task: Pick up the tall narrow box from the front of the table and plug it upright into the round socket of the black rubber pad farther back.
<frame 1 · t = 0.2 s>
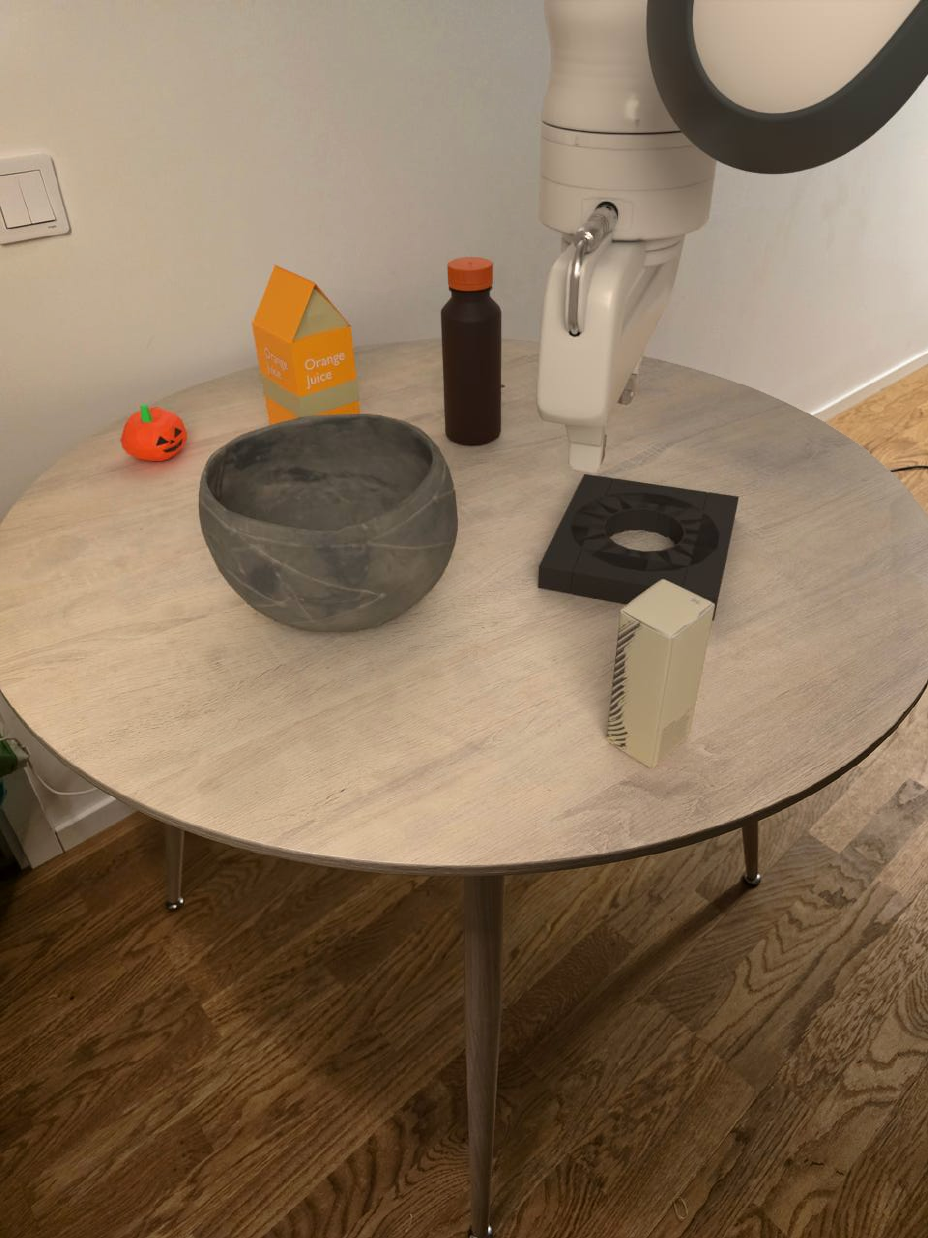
hand: (604, 430, 53), 24 cm above the table, tool pointing down, fingers open, 8 cm apart
pad: (641, 550, 85), on the table
bowl: (344, 607, 79), on the table
pumpkin: (159, 456, 103), on the table
bottle: (473, 435, 105), on the table
orange juice: (318, 445, 104), on the table
box: (646, 741, 65), on the table
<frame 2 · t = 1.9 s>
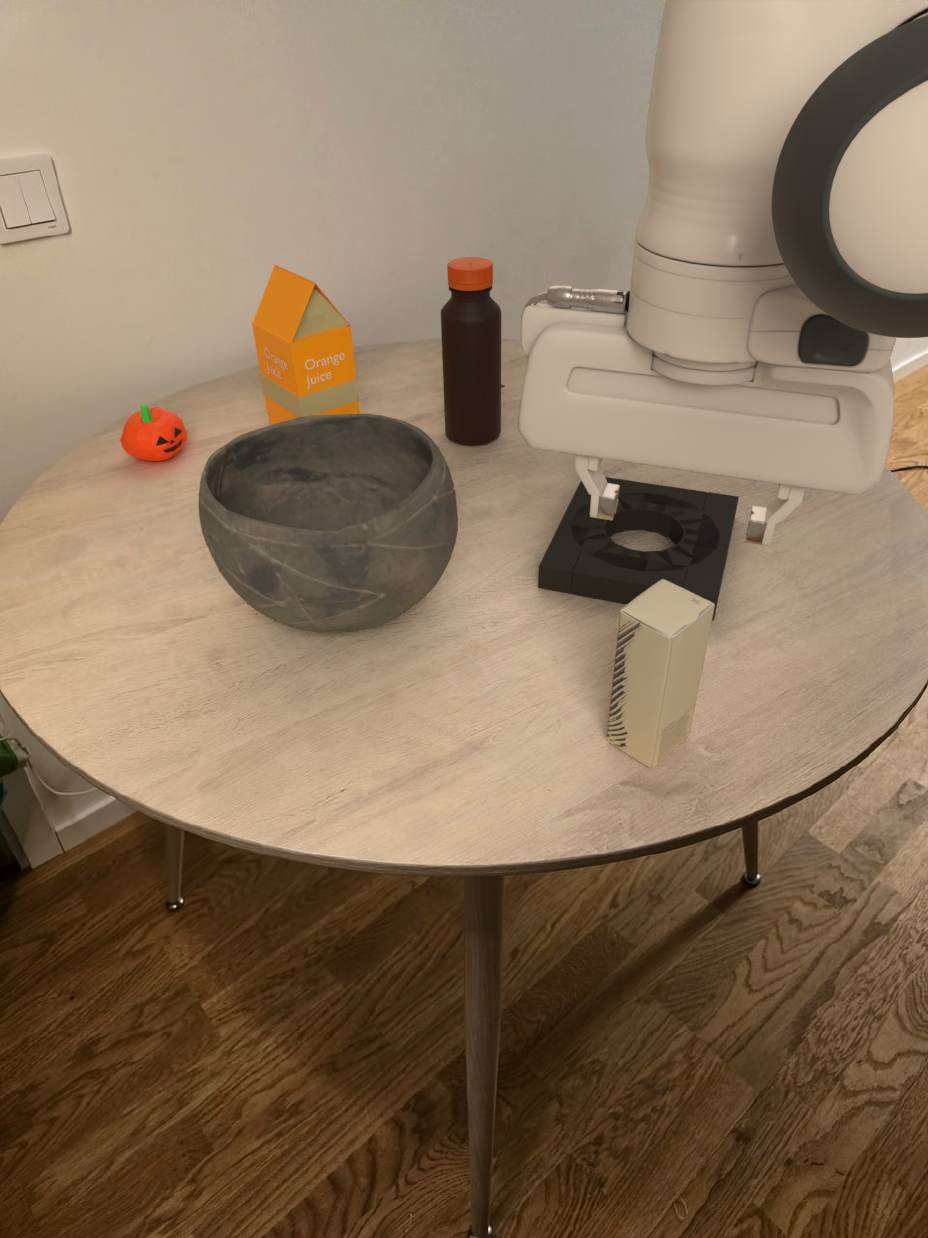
hand: (678, 526, 53), 19 cm above the table, tool pointing down, fingers open, 8 cm apart
nothing on the table moved.
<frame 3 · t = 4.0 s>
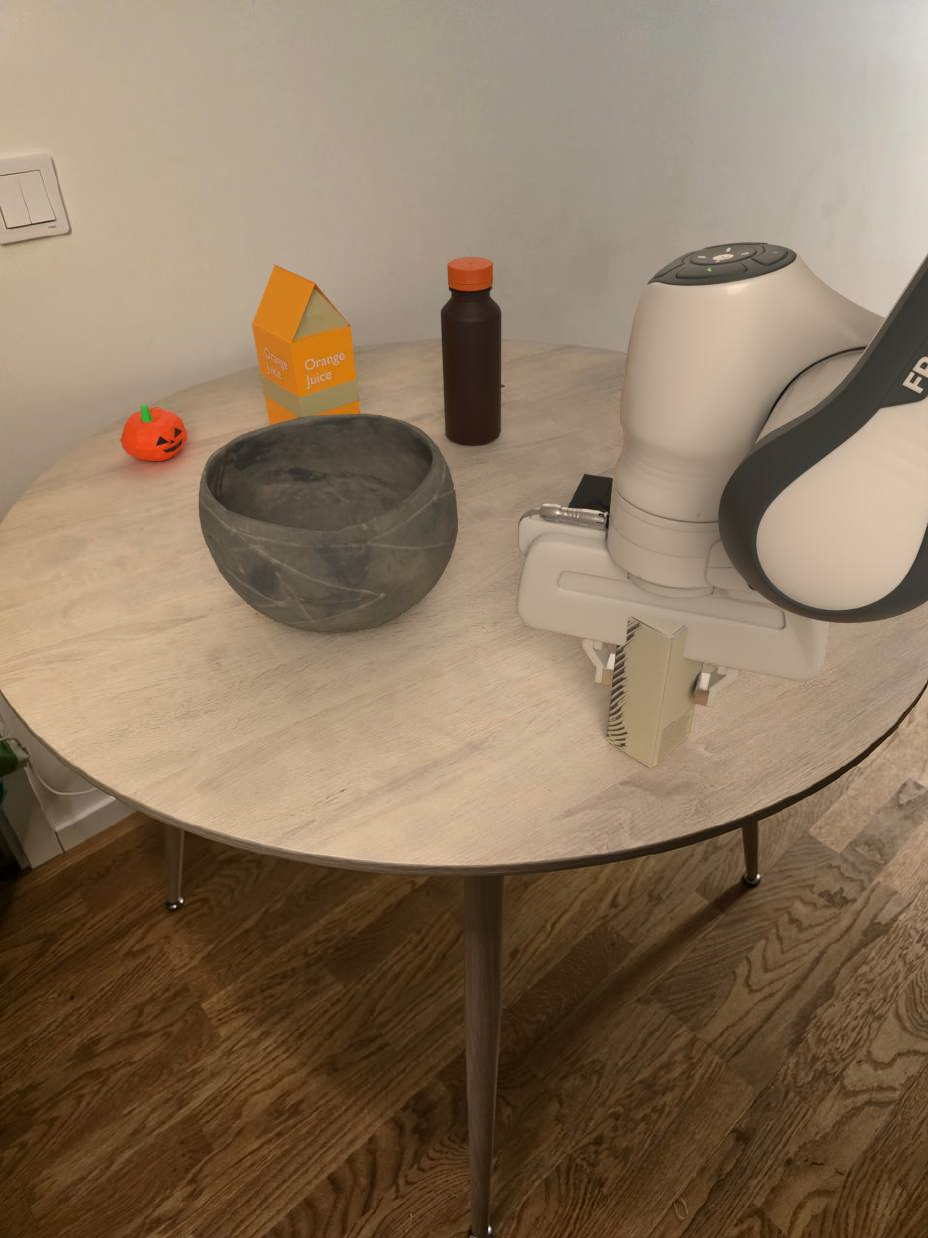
hand: (655, 689, 62), 5 cm above the table, tool pointing down, fingers closed on box, 5 cm apart
box: (646, 741, 65), on the table, touching gripper
everything else where it was.
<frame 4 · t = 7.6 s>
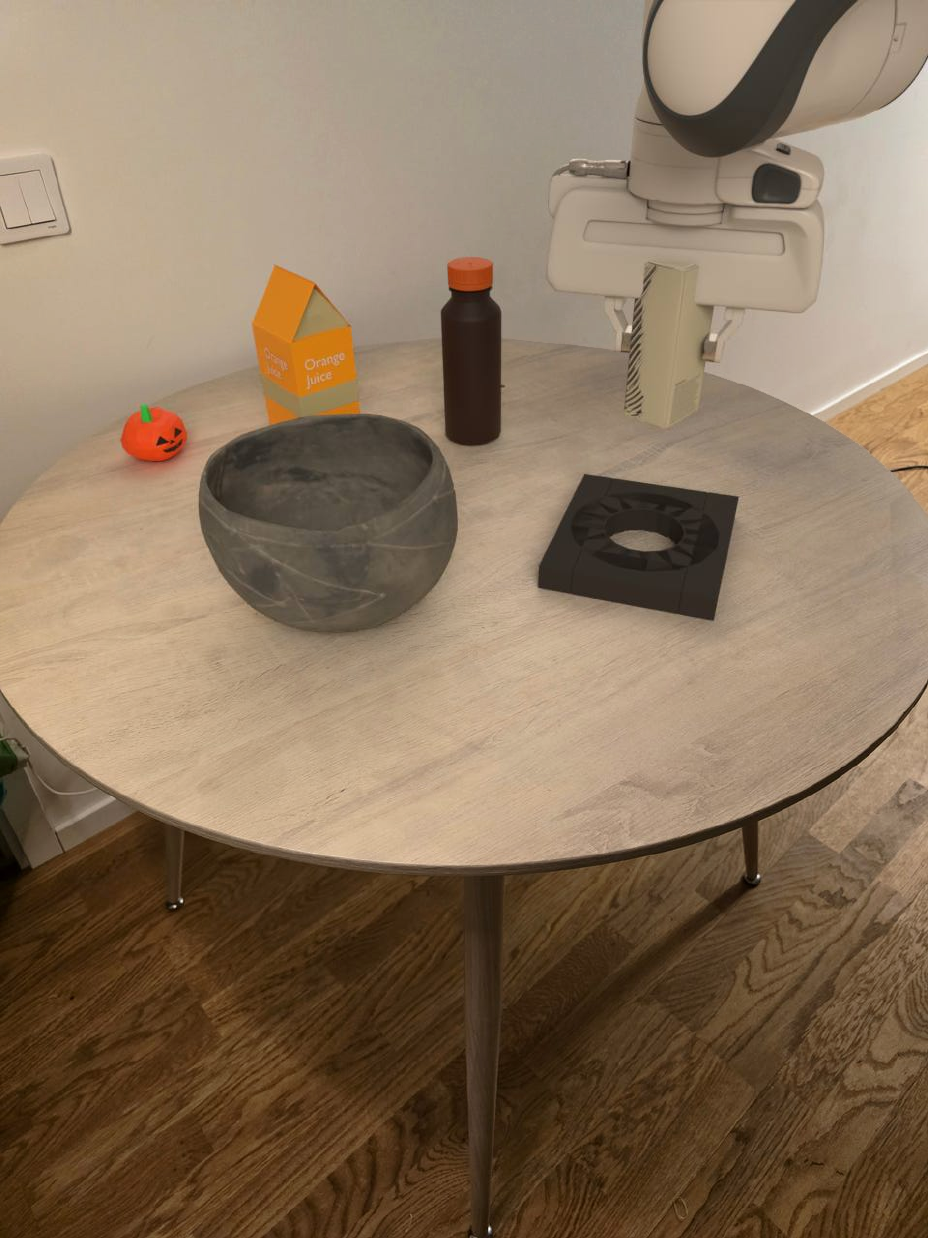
hand: (668, 354, 69), 21 cm above the table, tool pointing down, fingers closed on box, 5 cm apart
box: (659, 416, 73), point 16 cm above the table, touching gripper
everything else where it was.
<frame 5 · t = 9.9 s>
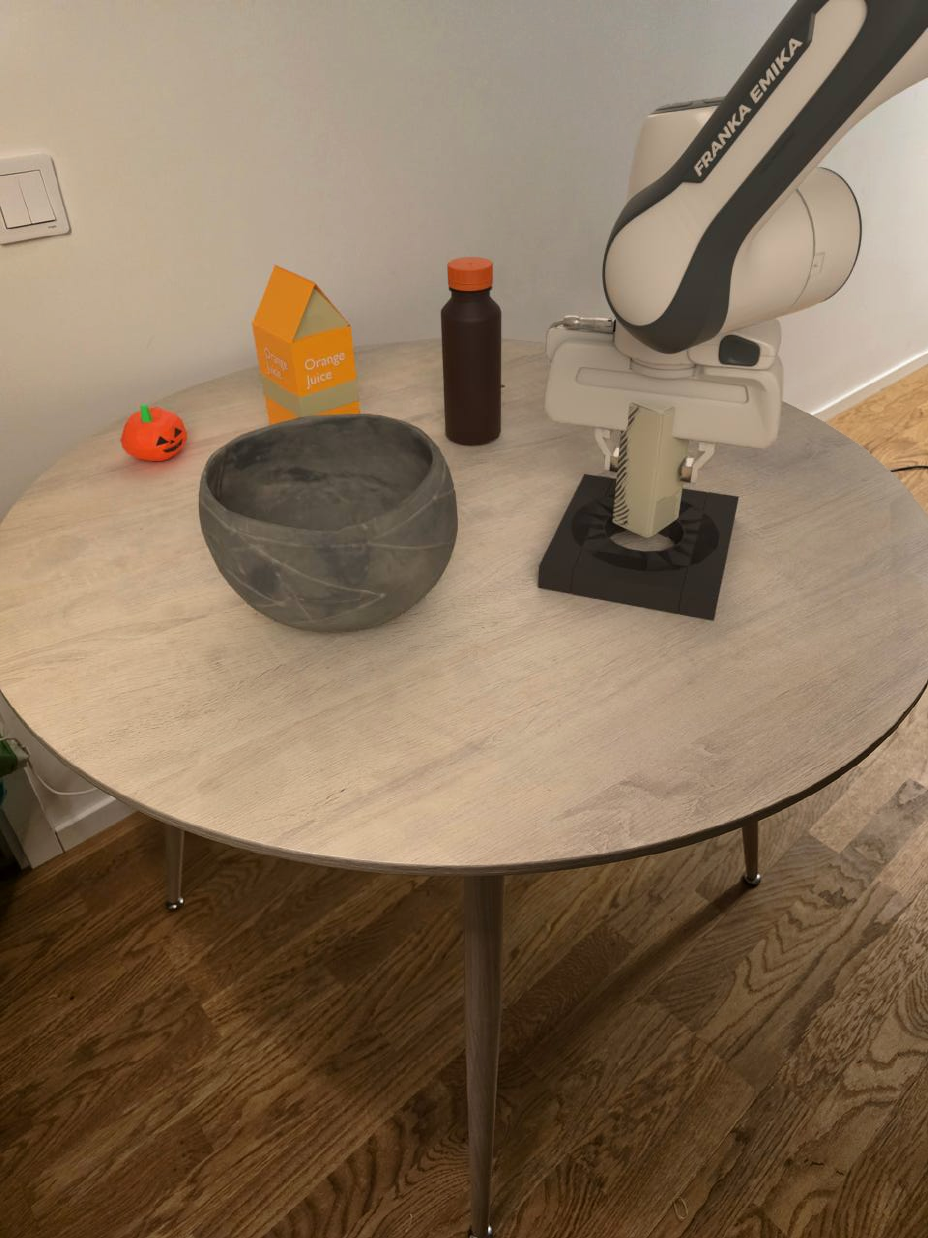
hand: (651, 474, 79), 8 cm above the table, tool pointing down, fingers closed on box, 5 cm apart
box: (644, 524, 83), point 3 cm above the table, touching gripper
everything else where it was.
when the fingers open (5 cm above the table, at t = 11.4 s): box stays where it is, resting in pad.
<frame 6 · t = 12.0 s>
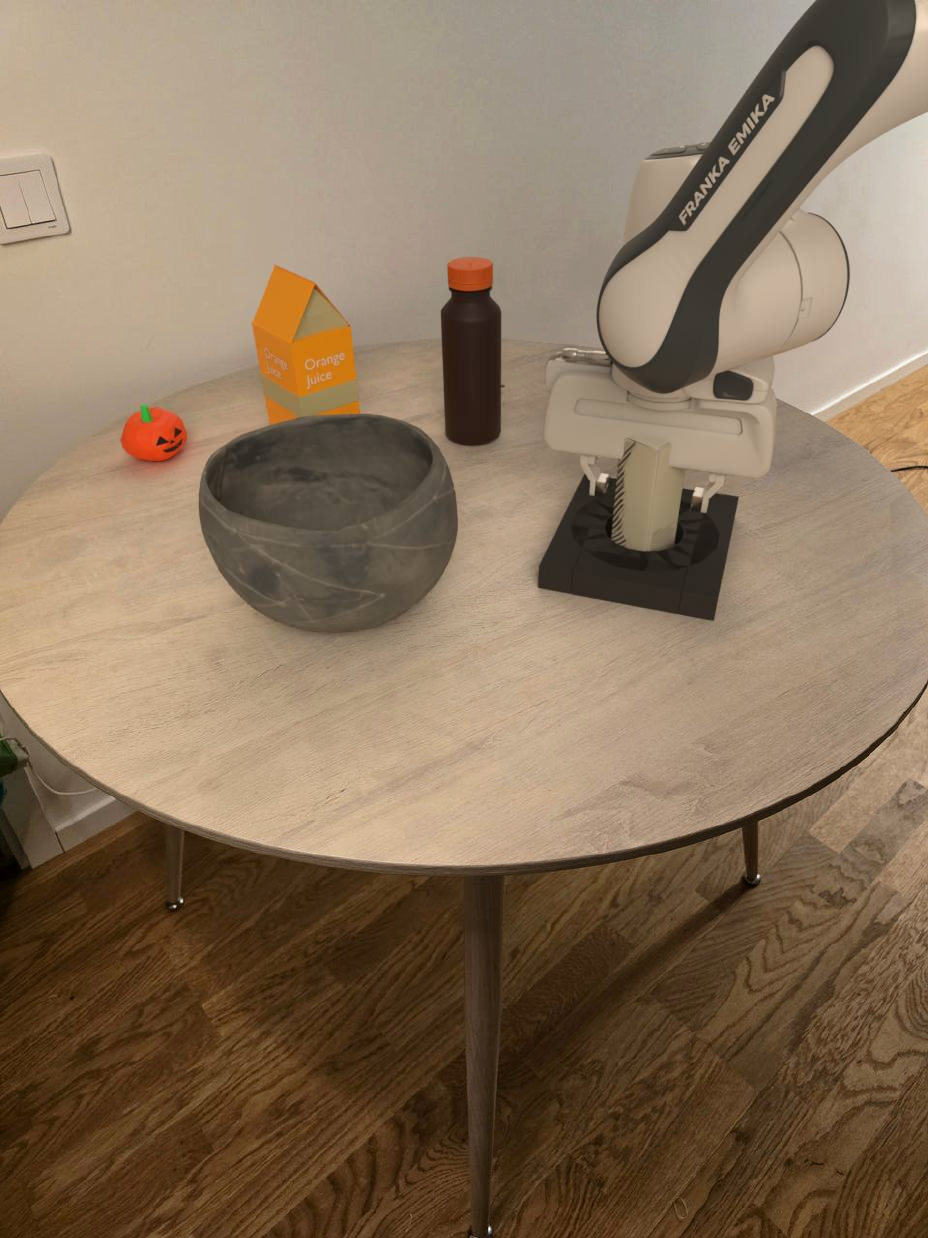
hand: (647, 501, 81), 6 cm above the table, tool pointing down, fingers open, 8 cm apart
box: (640, 553, 85), resting in pad
everything else where it was.
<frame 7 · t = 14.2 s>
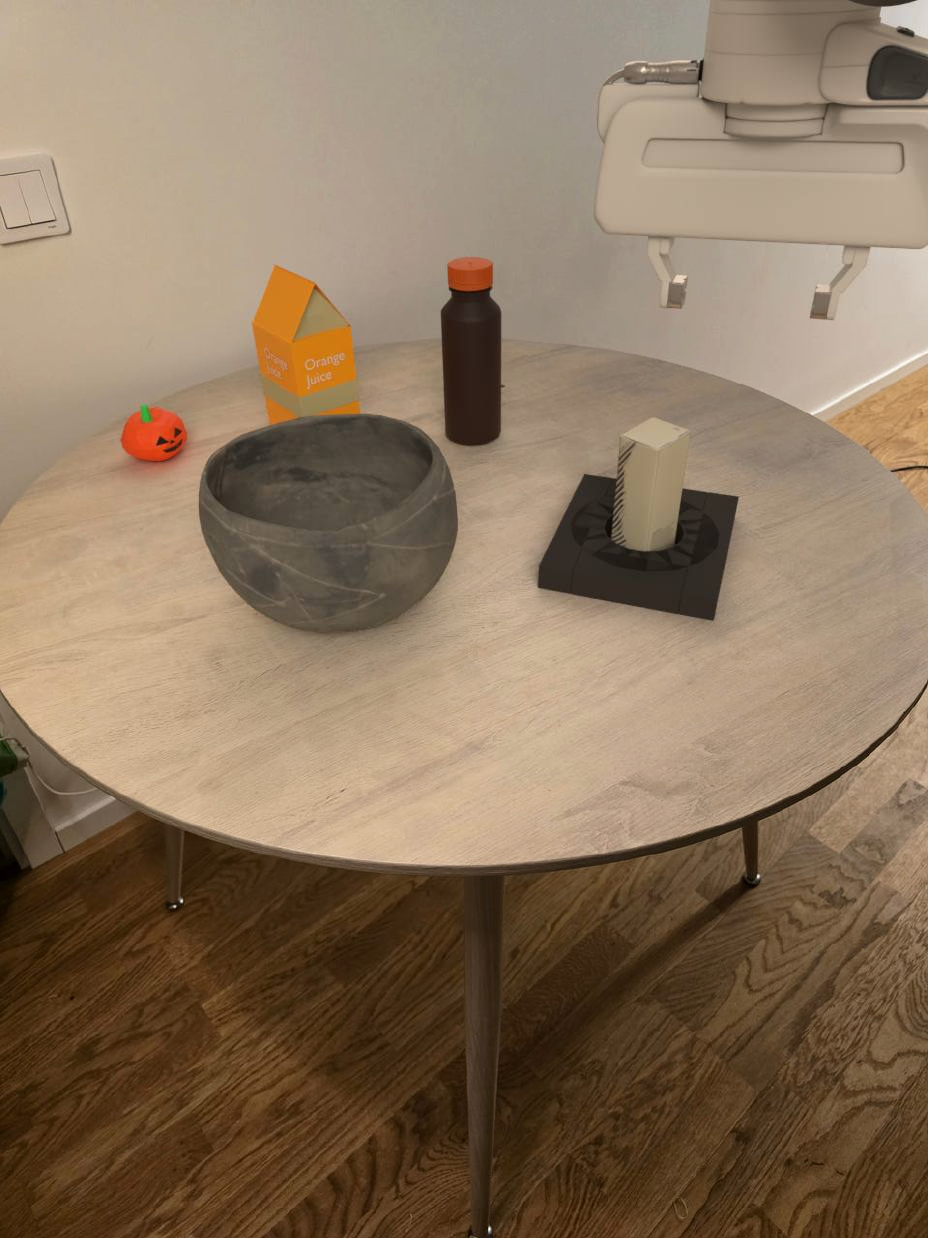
hand: (745, 311, 56), 28 cm above the table, tool pointing down, fingers open, 8 cm apart
nothing on the table moved.
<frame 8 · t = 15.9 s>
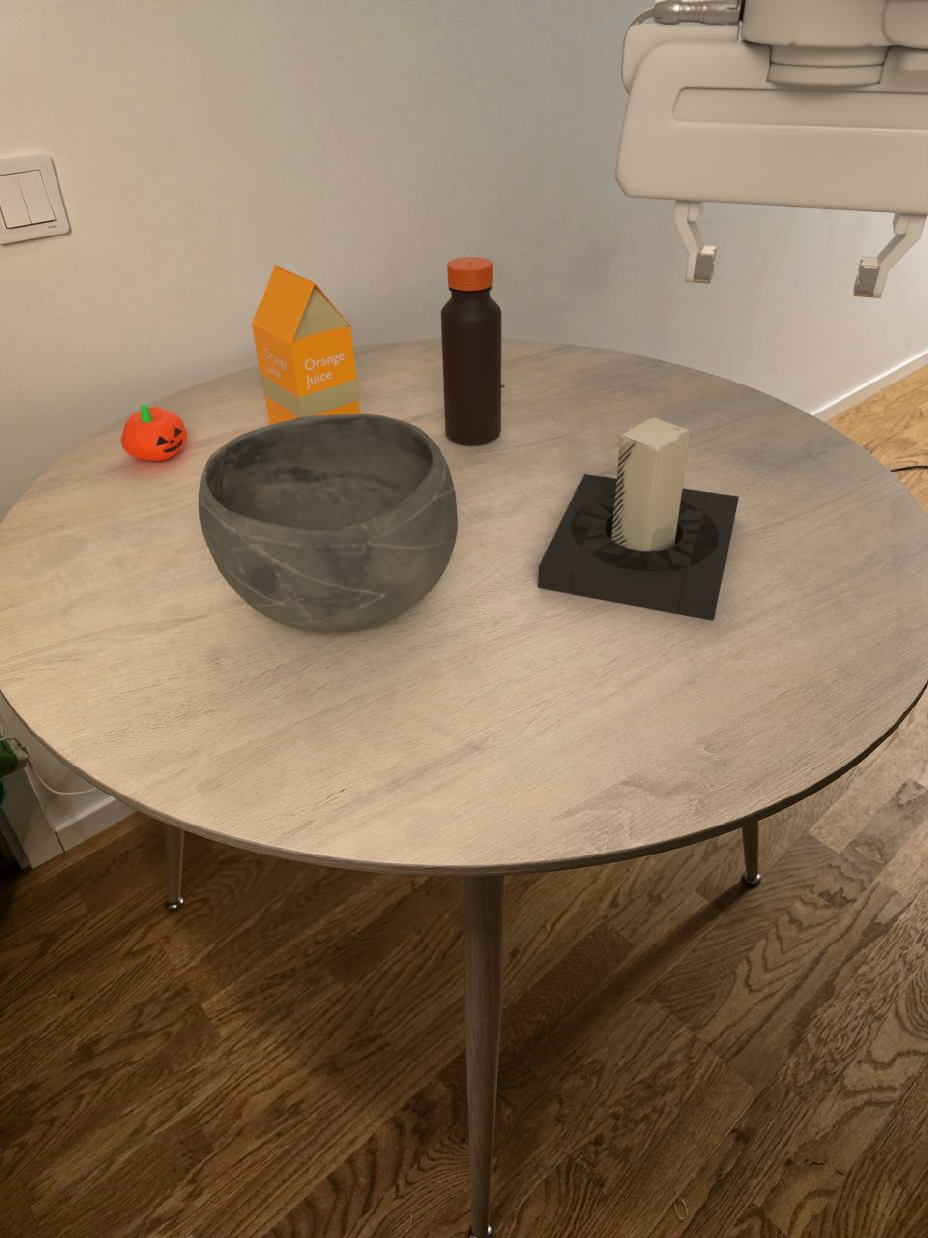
hand: (780, 287, 51), 31 cm above the table, tool pointing down, fingers open, 8 cm apart
nothing on the table moved.
at the end: box 0.1 cm off-centre in the pad, point 0.0 cm above the pad's base; box tilted 0°; the gripper is holding nothing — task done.
